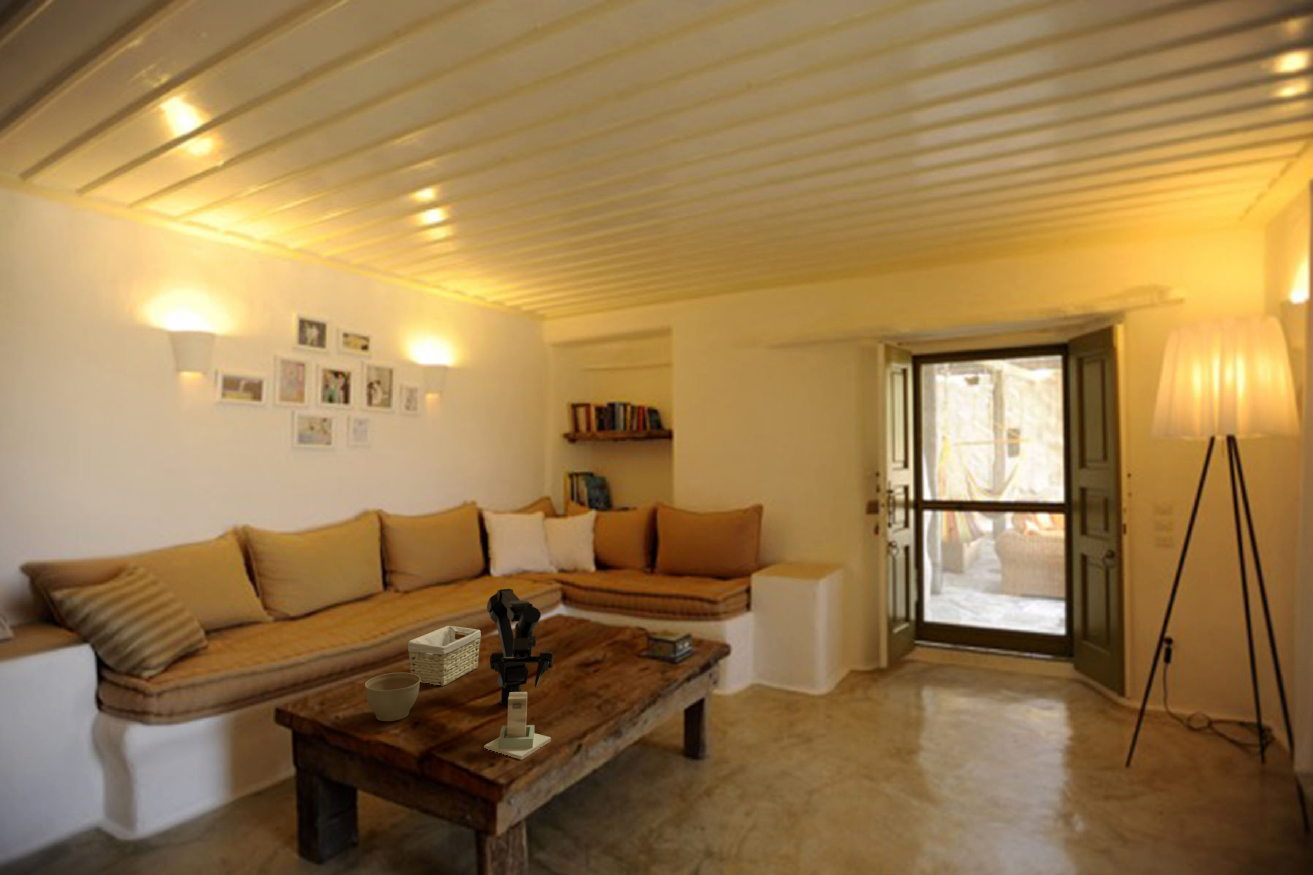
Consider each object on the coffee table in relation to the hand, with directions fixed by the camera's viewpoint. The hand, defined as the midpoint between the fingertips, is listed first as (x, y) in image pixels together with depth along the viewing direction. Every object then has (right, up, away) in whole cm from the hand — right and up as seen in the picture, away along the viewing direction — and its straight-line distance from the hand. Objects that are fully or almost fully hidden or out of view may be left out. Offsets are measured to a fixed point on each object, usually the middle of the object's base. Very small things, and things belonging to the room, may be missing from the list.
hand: (519, 687), depth 201 cm
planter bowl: (-42, -13, +10) cm, 45 cm away
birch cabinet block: (+1, -13, -8) cm, 15 cm away
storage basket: (-38, -14, +48) cm, 63 cm away
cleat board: (+1, -14, -8) cm, 16 cm away
